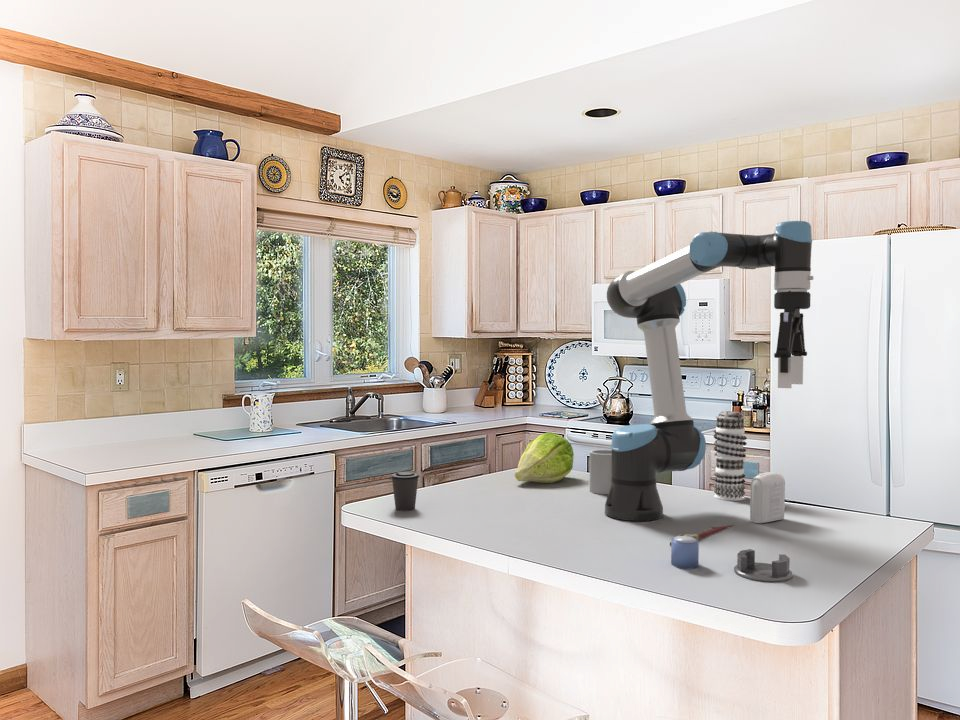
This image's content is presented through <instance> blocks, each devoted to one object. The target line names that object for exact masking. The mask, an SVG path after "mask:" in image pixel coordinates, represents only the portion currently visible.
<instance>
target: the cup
mask: <svg viewBox="0 0 960 720" xmlns="http://www.w3.org/2000/svg"><path fill="white" fill-rule="evenodd" d="M611 484H612V449H593V450H590V451H589V486H588V487H589V488H588V489H589V491H588V492H590V493H591V494H595V493H596V495H604V494H609V491H610V488H611Z"/></svg>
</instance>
